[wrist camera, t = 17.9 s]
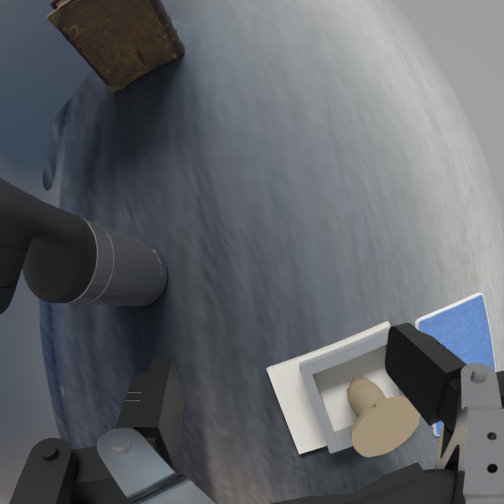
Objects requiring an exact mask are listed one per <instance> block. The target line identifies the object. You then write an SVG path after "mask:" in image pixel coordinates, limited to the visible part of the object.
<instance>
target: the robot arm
mask: <svg viewBox="0 0 504 504" xmlns="http://www.w3.org/2000/svg"><path fill="white" fill-rule="evenodd" d="M22 269H23V274H24V278H25V280H26V283H27V285H28V287H29V288H30V290H31V291H32V292H33V294H34V295H36V296H37V297H38V298H40V299H41V300H43V301H46V302H51V303H69V304H93V305H119V306H146V305H148V304H151V303H152V302H154V301H156V300H157V299H158V298H159V297H160V295H161V294H162V292H163V291H164V288H165V286H166V282H167V267H166V263H165V261H164V258H163V257H162V255H161V254H160V253H159V252H158V251H157V250H156V249H155V248H153V247H151V246H149V245H146V244H144V243H141V242H139V241H137V240H134V239H132V238H129V237H127V236H124V235H122V234H120V233H117V232H115V231H112V230H110V229H107V228H105V227H103V226H100V225H98V224H95V223H93V222H90V221H88V220H86V219H83V218H81V217H79V216H77V215H74V214H72V213H69V212H66V211H64V210H61V209H59V208H57V207H54V206H52V205H50V204H47V203H45V202H43V201H41V200H39V199H37V198H36V197H34V196H32V195H30V194H28V193H26V192H25V191H23V190H20V189H19V188H17V187H15V186H14V185H12V184H10V183H8V182H7V181H5V180H3V179H1V178H0V314H2V313H3V312H4V311H5V310H6V309H7V308H8V306H9V305H10V302H11V300H12V298H13V295H14V292H15V289H16V286H17V282H18V280H19V276H20V273H21V270H22ZM385 369H386V372H387V374H388V376H389V377H390V378H391V379H392V381H393V382H394V383H395V384H396V385H397V387H398V388H399V389H400V390H401V391H402V393H403V394H404V395H405V396H406V398H407V399H408V400H409V401H410V402H411V404H412V405H413V406H414V407H415V409H416V410H417V411H418V412H419V414H420V415H421V416H422V417H423V418H424V420H425V421H426V422H427V423H428V425H429V426H430V425H433V424H435V423H437V422H440V421H442V422H443V425H442V428H441V433H440V441H439V448H438V455H437V461H436V467H435V469H429V470H423V469H422V468H421V466H420V465H419V463H418V462H417V463H414V464H412V465H410V466H407V467H405V468H402V469H399V470H397V471H394V472H392V473H389V474H386V475H385V476H383V477H381V478H380V479H378V480H376V481H375V482H373V483H371V484H370V485H368V486H366V487H364V488H363V489H361V490H359V491H357V492H355V493H352V494H344V495H327V496H308V497H304V498H299V499H293V500H288V501H282V502H276V503H271V504H504V371H500V372H495V371H494V370H493V369H492V368H491V367H489V366H487V365H485V364H481V363H471V364H468V365H467V364H466V363H465V362H463V361H462V360H461V359H460V358H459V357H457V356H456V355H455V354H454V353H452V352H451V351H450V350H449V349H446V347H445V346H444V345H443V344H440V342H439V341H438V340H436V339H435V338H434V337H433V336H431V335H428V334H426V333H423V332H420V331H419V330H418V329H417V328H415V327H414V326H413V325H412V324H410V323H404V324H400V325H396V326H392V327H391V328H390V329H389V332H388V340H387V348H386V355H385ZM183 413H184V398H183V392H182V388H181V384H180V380H179V375H178V371H177V367H176V363H175V360H174V358H157V359H152V361H151V365H150V368H149V371H148V373H139V374H138V375H137V376H136V377H135V378H134V379H133V380H132V381H131V384H130V386H129V389H128V393H127V395H126V398H125V401H124V404H123V407H122V410H121V412H120V415H119V418H118V421H117V424H116V428H115V429H113V430H110V431H108V432H107V433H105V434H104V435H103V436H101V438H100V439H99V441H98V443H97V446H93V447H87V448H81V449H74V450H72V449H71V448H70V446H69V445H68V443H67V442H65V441H64V440H62V439H58V438H48V439H45V440H42V441H40V442H39V443H37V444H36V445H35V446H34V447H33V448H32V450H31V452H30V454H29V457H28V459H27V461H26V464H25V466H24V468H23V471H22V473H21V475H20V478H19V481H18V483H17V486H16V488H15V490H14V493H13V496H12V498H11V501H10V504H216V503H214V502H213V501H212V500H211V499H210V498H209V497H208V496H207V495H206V494H204V493H203V492H202V491H201V490H200V489H199V488H198V487H197V486H196V485H195V484H194V483H193V482H192V481H191V480H190V479H189V478H187V477H186V476H185V475H183V474H181V475H178V474H179V460H180V447H181V435H182V424H183Z"/></svg>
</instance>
